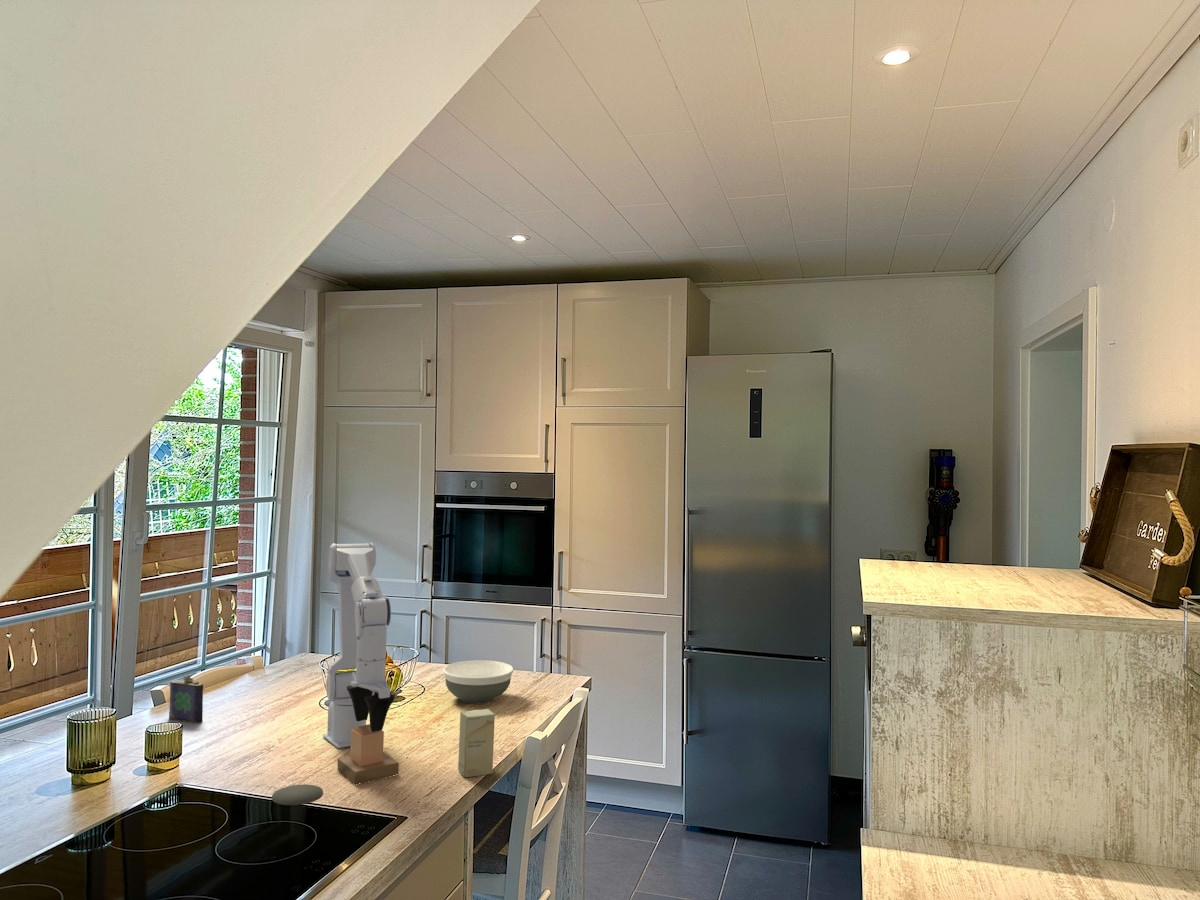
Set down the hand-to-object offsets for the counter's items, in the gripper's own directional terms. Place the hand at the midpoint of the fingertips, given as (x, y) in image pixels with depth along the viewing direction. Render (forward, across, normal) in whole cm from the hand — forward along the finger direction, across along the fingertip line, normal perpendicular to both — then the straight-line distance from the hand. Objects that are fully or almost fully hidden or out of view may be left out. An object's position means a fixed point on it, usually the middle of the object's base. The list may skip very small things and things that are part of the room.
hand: (369, 725), depth 165 cm
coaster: (+10, +3, -15) cm, 18 cm away
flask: (+10, -55, -22) cm, 60 cm away
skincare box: (+10, +12, +18) cm, 24 cm away
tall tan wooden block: (+7, 0, 0) cm, 7 cm away
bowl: (+10, -32, +44) cm, 55 cm away
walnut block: (+10, 0, 0) cm, 10 cm away
